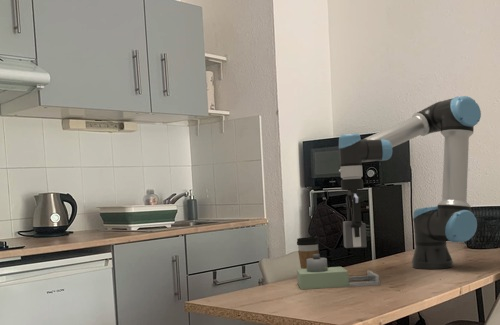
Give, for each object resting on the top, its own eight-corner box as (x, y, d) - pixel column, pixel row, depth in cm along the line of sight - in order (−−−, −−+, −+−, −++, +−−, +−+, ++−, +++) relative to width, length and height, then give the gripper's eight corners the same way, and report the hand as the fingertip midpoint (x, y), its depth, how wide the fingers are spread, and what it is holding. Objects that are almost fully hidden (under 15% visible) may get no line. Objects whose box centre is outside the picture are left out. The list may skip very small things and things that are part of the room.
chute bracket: (370, 278, 200) (370, 270, 200) (379, 284, 187) (379, 275, 187) (342, 280, 200) (341, 272, 200) (349, 286, 187) (348, 277, 187)
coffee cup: (320, 278, 207) (317, 237, 208) (297, 279, 209) (295, 238, 209) (322, 274, 215) (319, 235, 216) (300, 275, 217) (297, 236, 218)
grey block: (363, 245, 196) (362, 220, 196) (366, 247, 191) (365, 221, 192) (343, 246, 196) (342, 221, 196) (346, 248, 191) (345, 222, 192)
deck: (342, 280, 199) (340, 250, 200) (349, 286, 187) (346, 254, 188) (297, 283, 199) (295, 253, 199) (301, 289, 187) (299, 257, 187)
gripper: (336, 179, 204) (340, 244, 202) (345, 178, 186) (349, 249, 185) (357, 178, 204) (361, 243, 202) (368, 177, 186) (372, 248, 185)
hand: (355, 245), depth 194 cm, fingers closed on grey block, 5 cm apart
